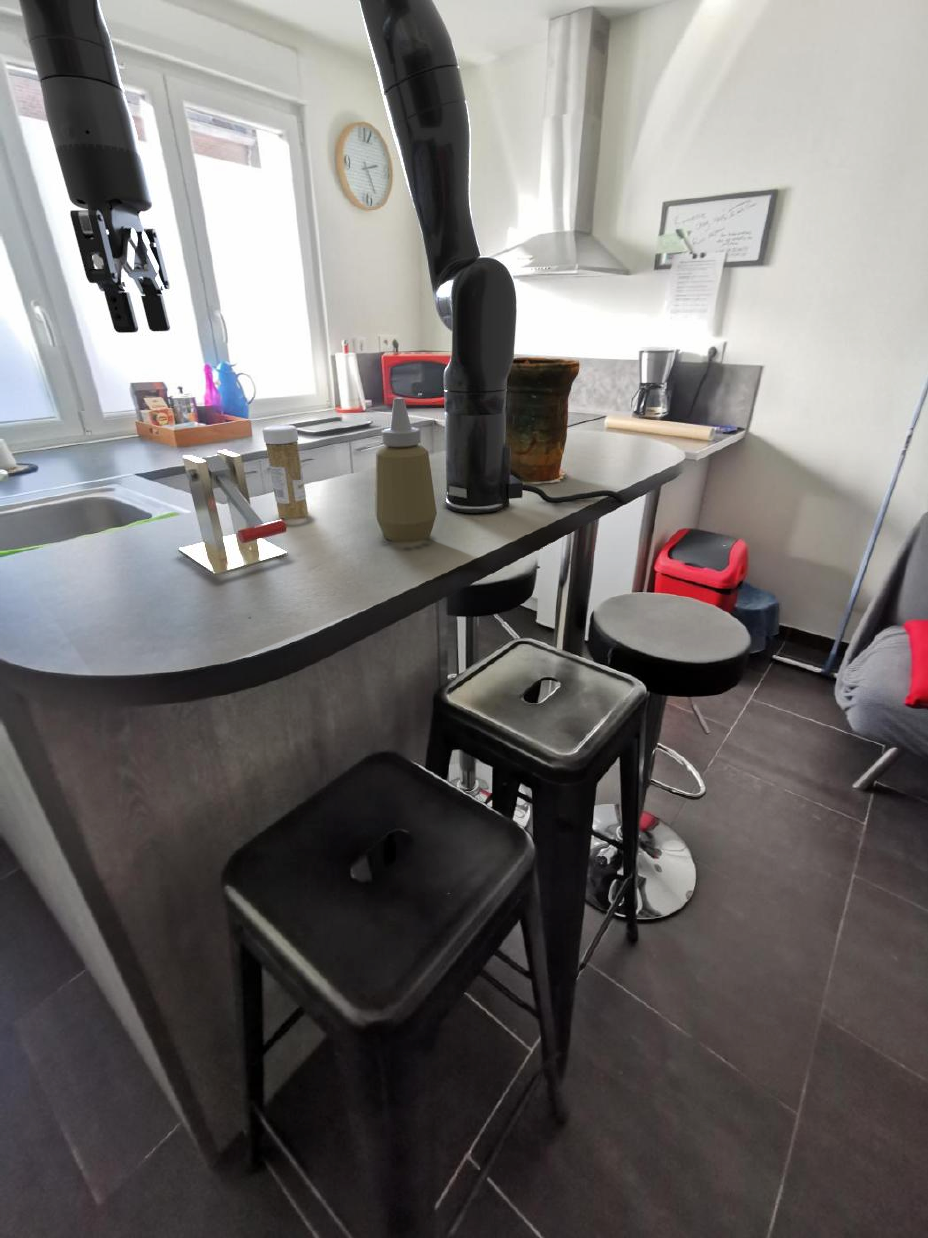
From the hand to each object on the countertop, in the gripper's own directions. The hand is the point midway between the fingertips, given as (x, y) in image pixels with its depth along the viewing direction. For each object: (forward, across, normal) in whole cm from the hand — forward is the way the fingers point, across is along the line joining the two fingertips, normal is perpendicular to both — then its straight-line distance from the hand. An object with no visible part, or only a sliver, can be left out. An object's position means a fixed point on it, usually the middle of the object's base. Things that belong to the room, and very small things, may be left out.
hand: (144, 331), depth 64 cm
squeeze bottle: (+26, -2, -28) cm, 38 cm away
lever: (+18, -10, -9) cm, 22 cm away
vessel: (+26, +31, -51) cm, 65 cm away
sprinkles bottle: (+26, +8, -11) cm, 29 cm away
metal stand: (+25, -7, -7) cm, 27 cm away
